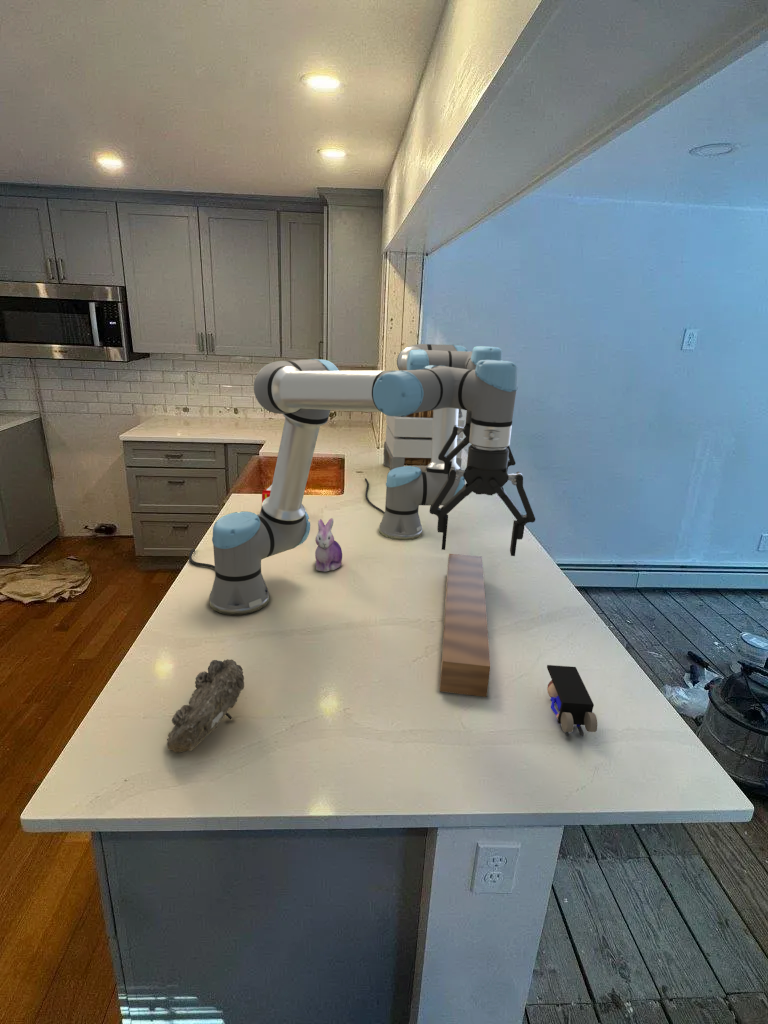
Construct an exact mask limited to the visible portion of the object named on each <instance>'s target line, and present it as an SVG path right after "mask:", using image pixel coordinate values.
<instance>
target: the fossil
mask: <svg viewBox="0 0 768 1024" xmlns="http://www.w3.org/2000/svg"><path fill="white" fill-rule="evenodd" d="M243 670H244V669H243V667H242V665H240V664H237V662H236V661H235V660H234V659H232V658H231V659H227V658H226V659H224V660H223V661H222V660H217V659H212V660H211V661H210V663H209V665H208V666H207V671H201V672H199V673H198V674H197V675H196V676H195V680H194V684H195V685H194V687H195V689H194V690H193V693H192V694H191V697H190V698H189V700H188V704H184V705H182V706H181V707H180V709H177V710H176V711H175V713H174V715H173V716H172V718H171V723H172V724H173V727H172V730H171V731H170V732H168V734H167V738H166V741H167V742H166V745H167V749H168V750H169V751H173V752H174V753H176V754H178V753H182V752H188V751H189V752H192V751H193V750H195V748H196V747H197V746H199V744H200V743H201V742H203V741H204V740H205V739H206V738H207V737H208V736H209V735H210V734H211V733H212V732H214V730H215V729H217V727H218V726H219V724H220V722H221V721H222V720H223V719H224V718H225V716H226V717H227V719H229V720H233V717H232V715H230V714H229V710H230V709H231V708H234V706H235V704H236V703H237V702H238V699H239V697H240V695H241V693H242V691H243V690H245V689H244V688H245V675H244V671H243Z"/></svg>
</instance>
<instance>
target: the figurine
mask: <svg viewBox="0 0 768 1024" xmlns="http://www.w3.org/2000/svg"><path fill="white" fill-rule="evenodd" d="M333 526H334V519H333V517H331V518H329V519H328V521H327V522H326V524H325V523H324V521H323V519H321V518H320V519H318V521H317V528H318V529H317V530H318V532H317V534H316V536H315V540H314V541H315V544H316V545H317V547H316V548H315V552H314V556H315V563H314V565H315V570H316V571H320V572H329V571H335V570H337V569H338V568H340V567H341V566H342V562H343V549H342V546H341V545H340V543H339V542H338V541H336V540H335V536H334V535H333V533H332V529H333Z"/></svg>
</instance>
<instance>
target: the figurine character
mask: <svg viewBox="0 0 768 1024" xmlns="http://www.w3.org/2000/svg"><path fill="white" fill-rule="evenodd" d="M546 669H547V671H548V674H549V677H550V678H551V680H550V681H549V682H548V684H547V687H546V690H547V694H548V696H549V700H550V702H551V703H550V709H551V711H552V712H553V714H554V715H555V717H556V718H557V721H556V722H557V724H559V725H560V726H561V730H562V732H564V734H565V735H566V736H567V737H569V736H570V733H572V732H573V731H574V727H575V726H576V728H577V731H578V734H579V736H581V737H584V735H585V733H584V729H583V728H582V726H584V728H585V730H586V732H588V733H596V732H597V730H598V718H597V715H596V713H595V712H593V709H594V705H595V704H594V702H593V700H592V697H591V696H590V694H589V692H588V689H587V688H586V685H585V683H584V681H583V679H582V677H581V674H580V673H579V671H578V669H577V667H576V666H568V665H554V664H547V665H546ZM555 705H556V707H557V708H556V707H555Z"/></svg>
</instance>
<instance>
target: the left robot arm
mask: <svg viewBox="0 0 768 1024" xmlns="http://www.w3.org/2000/svg"><path fill="white" fill-rule="evenodd" d="M518 375H519V368H518V365H517V364H516V363H515V362H513V361H510V360H502V361H501V360H499V361H498V360H480V361H478V363H477V365H476V369H475V370H469V369H461V368H454V367H446V366H444V365H429V366H426V367H424V369H421V370H399V369H398V370H397V369H396V370H395V369H394V370H339V368H338V367H337V366H336V365H335V364H334V363H333V362H332V361H329V360H327V359H321V358H319V359H318V358H310V359H296V360H295V359H294V360H277V361H273V362H269V363H267V364H265V365H264V366H263V367H262V368H261V369H259V371H258V372H257V374H256V376H255V378H254V382H253V393H254V396H255V399H256V401H257V402H258V404H259V405H260V406H261V407H262V408H263V409H265V410H266V411H268V412H270V413H273V414H279V415H282V416H283V417H284V424H283V428H282V431H281V432H282V434H281V438H280V443H279V447H278V453H277V458H276V463H275V468H274V473H273V478H272V482H271V485H272V487H271V492H270V497H267V498H266V499H264V501H263V503H262V502H261V507H260V512H259V513H258V514H256V513H255V512H251V511H240V512H238V511H235V512H230V513H228V514H225V515H222V516H221V517H220V518H218V519H217V520H216V521H215V523H214V524H213V526H212V537H211V541H212V547H213V548H212V549H213V561H214V564H210V563H204V562H198V561H195V560H194V559H193V554H194V553H195V552H196V548H195V547H194V548H191V549H190V551H189V554H188V561H189V563H190V564H191V565H195V566H198V567H205V568H206V567H207V568H211V569H213V570H214V580H213V583H212V584H213V585H212V588H211V590H210V592H209V596H208V598H209V606H210V608H211V609H212V610H214V611H215V612H217V613H219V614H223V615H227V616H242V615H243V616H244V615H248V614H252V613H255V612H258V611H260V610H262V609H263V608H265V607H266V606H267V605H268V603H269V601H270V591H269V589H268V586H267V584H266V581H265V578H264V576H263V574H262V560H264V559H267V558H270V557H272V556H275V555H278V554H281V553H284V552H287V551H291V550H292V549H293V550H294V549H296V548H297V547H298V546H301V545H302V544H304V543H305V541H306V540H307V539H308V537H309V535H310V533H311V521H309V519H310V517H309V514H308V512H307V511H306V507H305V505H304V504H303V499H304V495H305V490H306V487H307V483H308V479H309V475H310V469H311V466H312V462H313V457H314V453H315V449H316V445H317V442H318V441H317V440H318V436H319V433H320V427H321V426H323V425H325V424H327V423H328V421H329V416H330V413H331V411H346V412H366V413H367V412H368V413H382V414H384V415H385V416H386V415H387V416H407V415H409V414H413V413H418V412H423V411H430V410H436V409H442V408H456V409H461V410H462V411H466V412H467V411H472V417H471V427H470V437H469V442H470V443H469V444H470V445H469V446H468V449H467V450H468V451H467V460H466V467H465V469H461V470H458V469H456V468H455V467H451V469H450V473H449V477H448V479H447V481H446V482H445V484H444V485H443V487H442V489H441V490H440V492H439V493H438V495H437V496H436V498H435V500H434V501H433V503H432V504H431V505H429V514H431V515H435V516H436V517H437V526H436V529H437V533H442V540H441V551H445V550H446V545H447V535H448V524H449V523H448V522H449V513H450V512H452V511H453V510H454V509H455V507H457V506H458V505H459V504H460V503H461V502H462V501H463V500H464V499H465V498H466V497H468V496H470V494H471V493H474V494H475V495H487V496H493V495H496V494H497V496H498V497H499V498H500V500H502V502H503V503H504V505H505V506H506V507H507V509H508V510H509V511H510V513H511V514H512V516H513V517H514V519H513V522H512V523H513V524H512V531H511V539H510V545H509V546H510V547H509V553H510V556H511V557H515V556H516V552H517V551H516V550H517V543H518V540H523V538H524V535H525V534H524V532H525V526H526V524H528V523H535V522H536V516H535V514H534V511H533V509H532V506H531V504H530V501H529V498H528V495H527V493H526V490H525V488H524V477H523V473H522V472H521V471H517V472H516V473H508V471H507V464H508V460H509V457H508V456H509V450H508V448H506V447H508V446H509V447H510V446H511V437H512V428H513V417H514V411H515V410H514V409H515V403H516V397H517V391H518V377H519V376H518ZM460 477H464V479H465V480H464V481H465V485H464V486H463V487H462V489H461V490H460V491H459V492H457V493H456V494H455V495H454V496H453V497H452V498H451V499H450V500H449V501H448V502H447V503H446V504H445V505H444V506H443V505H441V503H442V502H443V500H444V498H445V497H446V495H447V494H448V492H449V491H450V489H451V487H452V486H453V484H454V481H458V480H459V478H460ZM508 481H510V482H511V484H512V485H513V486H515V487H516V490H517V493H518V495H519V496H518V497H519V498H520V501H521V504H522V506H523V508H524V511H525V513H526V514H523V513H522V512H521V510H520V509H519V507H518V506H517V505H516V503H515V502H514V501H513V499H512V498H511V496H510V495H509V494H508V493H507V491H506V489H505V488H504V486H505V485H506V484H507V483H508ZM440 506H441V507H440ZM515 519H516V520H515Z"/></svg>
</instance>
